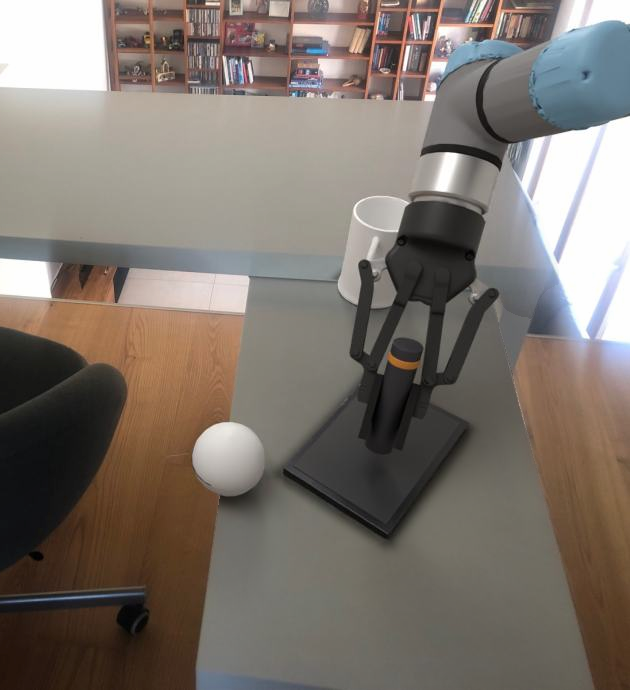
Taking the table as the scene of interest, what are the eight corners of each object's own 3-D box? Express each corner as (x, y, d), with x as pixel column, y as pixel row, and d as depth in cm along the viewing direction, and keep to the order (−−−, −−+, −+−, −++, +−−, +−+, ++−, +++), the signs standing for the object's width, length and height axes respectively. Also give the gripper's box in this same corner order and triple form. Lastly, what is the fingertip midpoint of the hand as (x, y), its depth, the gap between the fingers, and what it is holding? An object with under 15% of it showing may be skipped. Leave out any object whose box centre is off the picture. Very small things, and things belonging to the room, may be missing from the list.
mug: (381, 332, 87) (401, 254, 79) (318, 309, 91) (330, 233, 82) (410, 281, 94) (431, 205, 86) (350, 262, 98) (365, 187, 89)
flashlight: (397, 446, 71) (429, 345, 65) (384, 459, 69) (416, 355, 63) (372, 433, 72) (400, 333, 66) (358, 445, 70) (387, 343, 64)
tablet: (467, 428, 76) (469, 422, 75) (386, 540, 66) (388, 534, 65) (369, 377, 82) (371, 370, 81) (282, 473, 72) (283, 467, 71)
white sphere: (267, 457, 74) (272, 412, 68) (258, 516, 68) (263, 472, 63) (175, 442, 75) (173, 397, 70) (159, 499, 70) (157, 455, 65)
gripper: (525, 235, 68) (460, 464, 69) (364, 203, 73) (304, 417, 73) (542, 217, 61) (469, 473, 62) (363, 183, 66) (296, 421, 66)
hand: (380, 442), depth 67 cm, fingers closed on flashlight, 3 cm apart
